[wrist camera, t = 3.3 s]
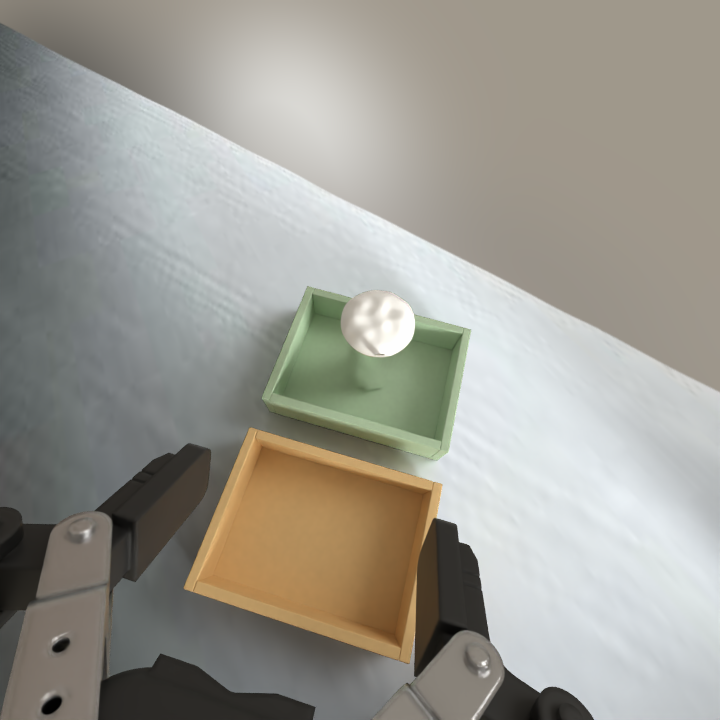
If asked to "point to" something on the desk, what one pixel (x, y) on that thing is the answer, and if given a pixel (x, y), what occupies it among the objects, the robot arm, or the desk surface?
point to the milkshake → (375, 336)
